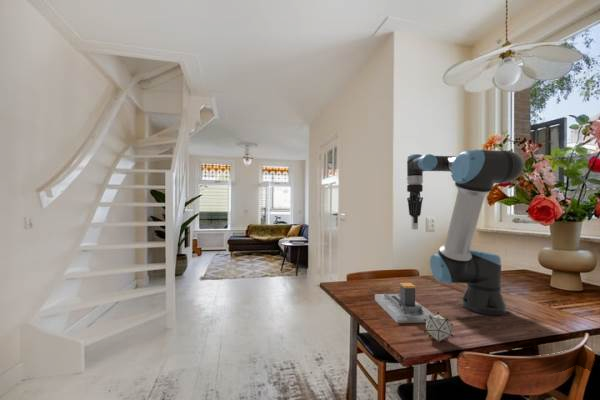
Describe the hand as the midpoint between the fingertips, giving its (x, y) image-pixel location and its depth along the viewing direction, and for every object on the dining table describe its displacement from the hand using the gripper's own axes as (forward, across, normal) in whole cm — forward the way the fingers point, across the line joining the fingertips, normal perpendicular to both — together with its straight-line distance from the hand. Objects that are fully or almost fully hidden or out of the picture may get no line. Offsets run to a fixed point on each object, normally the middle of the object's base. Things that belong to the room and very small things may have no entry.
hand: (414, 229), depth 147 cm
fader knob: (+27, +38, -21) cm, 51 cm away
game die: (+30, +58, -21) cm, 68 cm away
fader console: (+29, +33, -21) cm, 49 cm away
